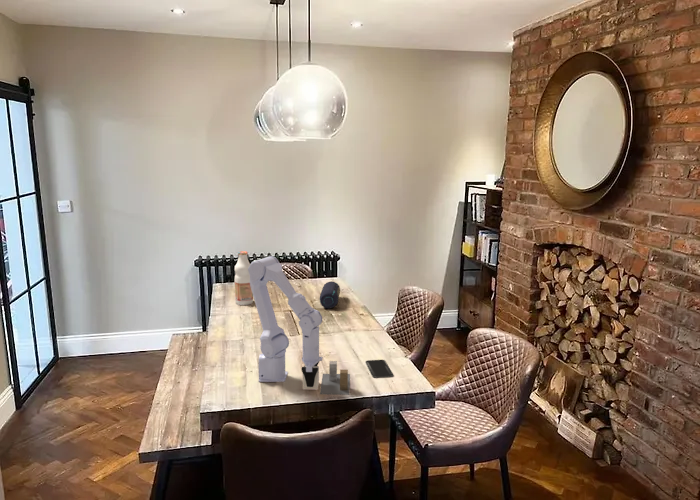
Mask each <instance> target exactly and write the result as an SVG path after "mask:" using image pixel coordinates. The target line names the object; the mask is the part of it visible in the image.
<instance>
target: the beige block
mask: <svg viewBox="0 0 700 500" xmlns="http://www.w3.org/2000/svg"><path fill="white" fill-rule="evenodd" d="M303 367H306V366H305V365H303ZM313 368H318V371H317V373H316V376H315V380H314V385H313V387H307V385H306V380H305V376H304V374H303V373H302V390H316V391H317V390H319V384H320V366H319V365H318V366H313Z"/></svg>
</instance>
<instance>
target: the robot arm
mask: <svg viewBox="0 0 700 500" xmlns="http://www.w3.org/2000/svg"><path fill="white" fill-rule="evenodd" d="M248 271H249V275H250V286H251V290H252V293H253V301H254V303H255V307H256V311H257V314H258V317H259V320H260V324H261V327H262V333H261V335H260V337H259V341H260V348H259V349H260V352H261V353H259V357H258V382H259V383H260V382H261V383H262V382H263V383H264V382H266V383H267V382H268V383H278V382H279V383H280V382H281V383H282V382H283V383H285V382H286V379H287V377H288V374H289V372H288V371H286V352H287V349H288V348H289V346H290V340H289V337H288V336H287V334H286V333H285V331H284V328H282V327H281V326H279V325H278V324H279V323H278V321H277V317H276V314H275V310H274V307H273V303H272V300H271V296H270V294H269V289H268V287H267V286H268V285H267V284H268V283H269V282H273V283H274V284H275V285H276V286H277V287H278V288H279V290H280V291H281V292H282V293H283V294H284V295H285V297H286V298H287V300H288V301H287V305H288V307H290V308H291V311H293V313H294V314H295V315H296V317H297V318H298V319H299V321H298V326H299V327H300V329H301V334H302V337H301V338H302V357H301V361H302V363H303V364H304V366H306V367H304V366H301V373H302V375H303V374H304V376H305V380H306V385H307V387H313V385H314V380H315V376H316V373H317V371H318V368H313V366H319V363H320V362H322V361H323V357H322V356H320V325H321V324H322V323H323V315H322V314H321V312H320V310H317V309H315V308H314V307H312V306H311V305H310V303H309V302H308V301H307V299H306V298H307V297H305V295H304V294H302V293H300V292H296V290H295V288H294V287H293V286H292V283H291V282H290V280H289V279H288V278H287V275H286V274H285V272H284V271H283V266H282V264H281V263H280V261H279V259H278V258H277V257H275V256H273V255H268V256H267V257H266V256H265V257H263V258H260V259H255V260H253V261H251V263H250V266H249V267H248Z"/></svg>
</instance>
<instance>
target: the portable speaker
mask: <svg viewBox="0 0 700 500" xmlns="http://www.w3.org/2000/svg"><path fill="white" fill-rule="evenodd" d="M340 294H341V287H340V285H339V284H338V283H337V282H335V281H327V282H326V283H325V284H324V285H323V286H322V289H321V292H320V293H319V298H318V299H319V303H320V305H321V306H322V307H323V308H325V309H332V308H335V307H336V306H337V304H338V302H339V299H340Z"/></svg>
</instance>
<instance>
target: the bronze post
mask: <svg viewBox="0 0 700 500" xmlns="http://www.w3.org/2000/svg"><path fill="white" fill-rule="evenodd" d="M348 370H349V369H339V374H340V390H348V374H349V371H348Z"/></svg>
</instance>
